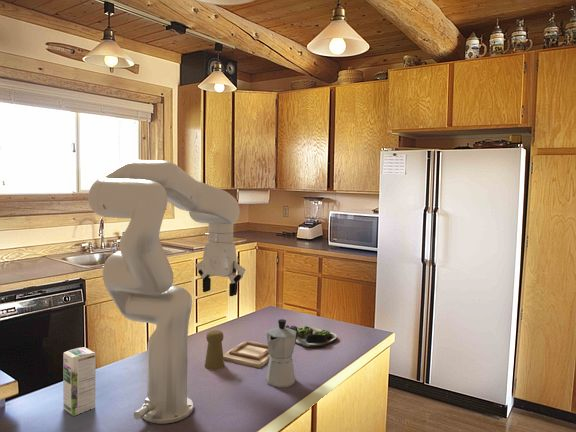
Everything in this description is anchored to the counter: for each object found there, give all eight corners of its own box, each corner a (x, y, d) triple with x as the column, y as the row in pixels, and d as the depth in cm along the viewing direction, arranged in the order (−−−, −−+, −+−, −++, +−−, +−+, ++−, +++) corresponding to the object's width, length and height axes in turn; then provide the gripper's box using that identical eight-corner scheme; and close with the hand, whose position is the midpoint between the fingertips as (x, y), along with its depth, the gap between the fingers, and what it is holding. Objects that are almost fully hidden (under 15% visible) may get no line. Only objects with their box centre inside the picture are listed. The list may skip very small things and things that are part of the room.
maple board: (259, 368, 139) (259, 361, 139) (220, 359, 145) (220, 353, 144) (281, 350, 153) (281, 345, 153) (246, 343, 159) (246, 338, 159)
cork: (220, 371, 136) (221, 335, 135) (201, 368, 137) (202, 333, 136) (227, 363, 142) (227, 329, 141) (208, 361, 143) (209, 327, 142)
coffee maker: (281, 393, 123) (283, 329, 121) (255, 385, 127) (256, 322, 126) (308, 374, 136) (309, 315, 134) (283, 367, 140) (284, 310, 139)
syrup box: (62, 408, 112) (61, 352, 111) (85, 400, 116) (85, 345, 115) (73, 417, 108) (72, 358, 107) (96, 407, 113) (96, 351, 112)
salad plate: (271, 338, 166) (272, 326, 165) (303, 327, 179) (303, 316, 179) (312, 353, 153) (312, 339, 152) (343, 340, 166) (343, 328, 165)
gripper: (190, 237, 138) (189, 292, 139) (238, 241, 131) (237, 299, 132) (204, 234, 145) (203, 287, 146) (251, 239, 137) (250, 294, 139)
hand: (219, 293), depth 139 cm, fingers open, 9 cm apart
